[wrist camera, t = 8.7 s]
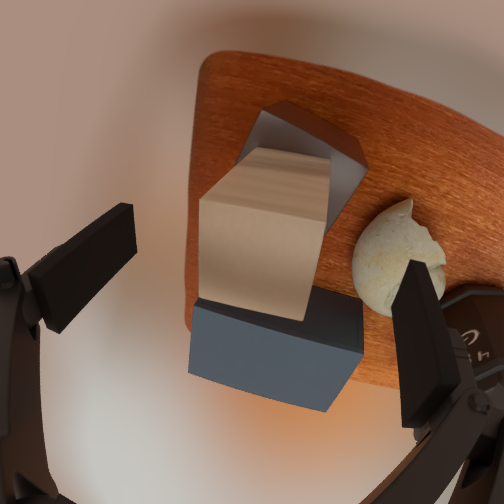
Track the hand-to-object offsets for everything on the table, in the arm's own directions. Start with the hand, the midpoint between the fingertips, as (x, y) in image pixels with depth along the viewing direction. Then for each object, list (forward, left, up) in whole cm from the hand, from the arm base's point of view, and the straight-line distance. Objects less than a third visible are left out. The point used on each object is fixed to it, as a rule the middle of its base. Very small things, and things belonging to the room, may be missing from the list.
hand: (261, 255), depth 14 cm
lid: (+19, +8, -11) cm, 24 cm away
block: (0, 0, -9) cm, 9 cm away
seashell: (+4, +14, -20) cm, 25 cm away
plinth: (0, 0, -20) cm, 20 cm away
